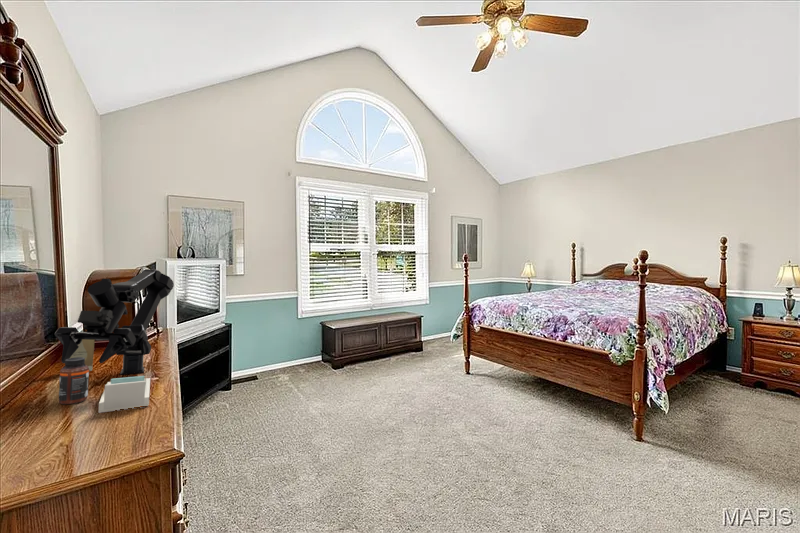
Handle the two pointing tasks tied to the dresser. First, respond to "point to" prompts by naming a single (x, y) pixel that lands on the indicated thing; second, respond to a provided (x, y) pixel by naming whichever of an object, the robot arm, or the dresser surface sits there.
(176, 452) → the dresser surface
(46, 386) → the dresser surface
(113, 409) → the lane
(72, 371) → the supplement bottle
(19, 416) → the dresser surface
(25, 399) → the dresser surface
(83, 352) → the skincare box
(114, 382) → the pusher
